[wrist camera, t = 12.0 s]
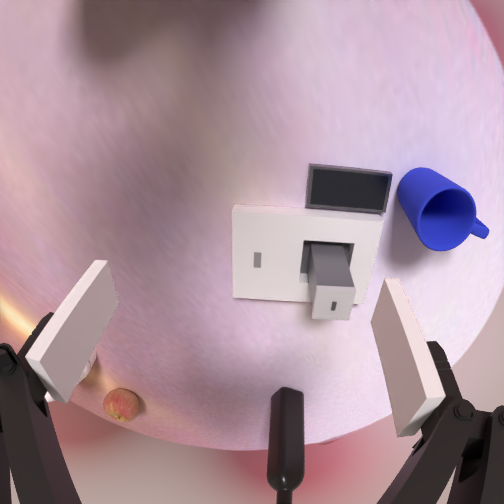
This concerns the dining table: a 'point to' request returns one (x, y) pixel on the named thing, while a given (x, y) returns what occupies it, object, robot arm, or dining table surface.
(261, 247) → the cabinet panel
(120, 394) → the apple
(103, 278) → the robot arm
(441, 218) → the mug
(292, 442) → the wine bottle
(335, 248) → the plug
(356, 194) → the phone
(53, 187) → the dining table surface
